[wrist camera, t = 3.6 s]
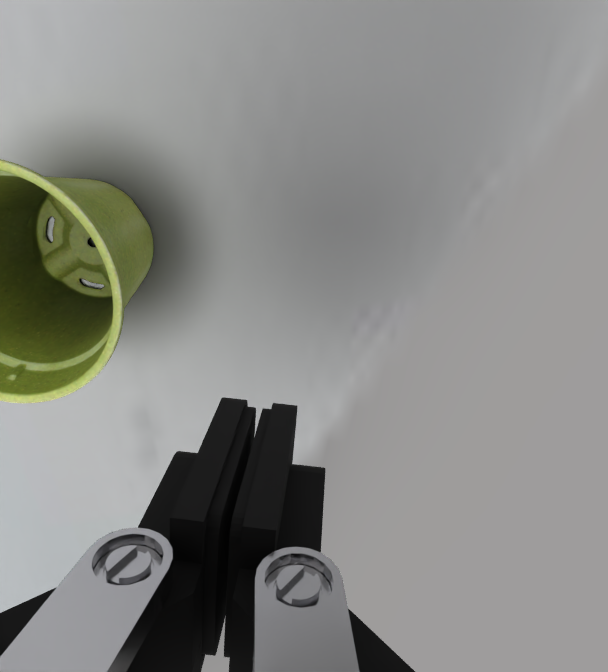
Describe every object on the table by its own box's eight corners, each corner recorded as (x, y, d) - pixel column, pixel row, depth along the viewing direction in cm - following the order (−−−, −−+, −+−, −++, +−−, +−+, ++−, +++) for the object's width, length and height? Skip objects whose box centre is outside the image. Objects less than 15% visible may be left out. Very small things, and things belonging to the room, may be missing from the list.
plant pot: (5, 305, 30) (-118, 376, 22) (3, 123, 27) (-145, 129, 19) (174, 341, 30) (112, 425, 22) (196, 165, 27) (131, 189, 19)
